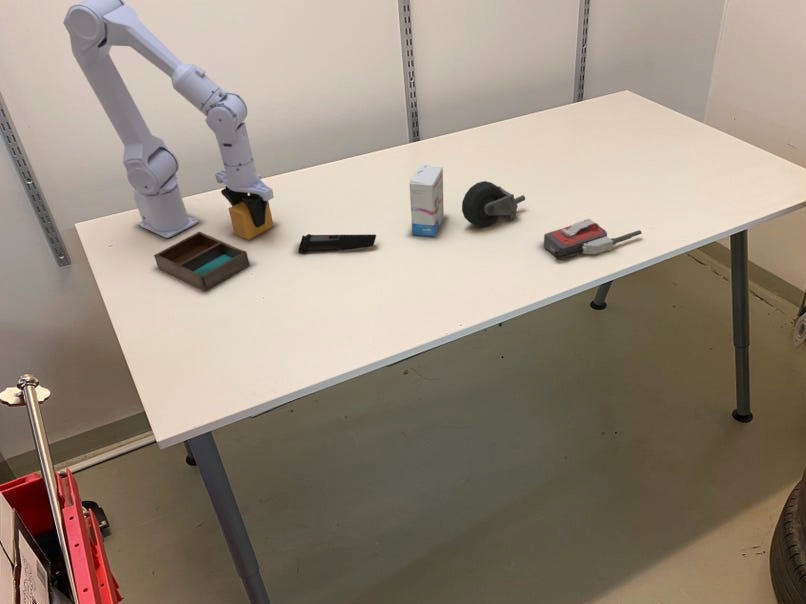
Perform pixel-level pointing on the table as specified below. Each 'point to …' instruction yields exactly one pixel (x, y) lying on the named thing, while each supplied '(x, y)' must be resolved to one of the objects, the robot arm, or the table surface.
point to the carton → (248, 221)
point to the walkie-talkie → (581, 240)
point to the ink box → (426, 200)
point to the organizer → (202, 260)
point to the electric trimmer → (336, 242)
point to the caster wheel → (488, 204)
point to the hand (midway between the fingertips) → (252, 222)
